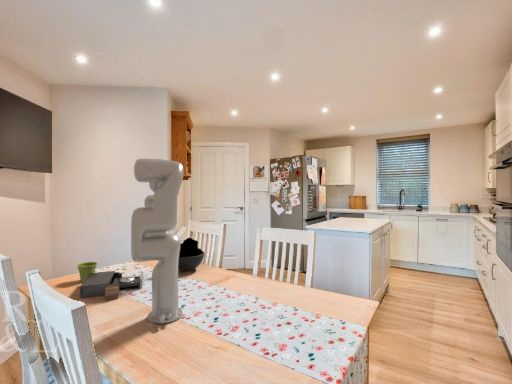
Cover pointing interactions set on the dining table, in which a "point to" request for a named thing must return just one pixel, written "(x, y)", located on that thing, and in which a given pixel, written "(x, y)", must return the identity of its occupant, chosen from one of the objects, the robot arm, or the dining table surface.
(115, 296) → the block
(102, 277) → the player
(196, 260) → the bowl of black rocks
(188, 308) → the dining table surface
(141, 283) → the tray
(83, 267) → the plant pot
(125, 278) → the disc
